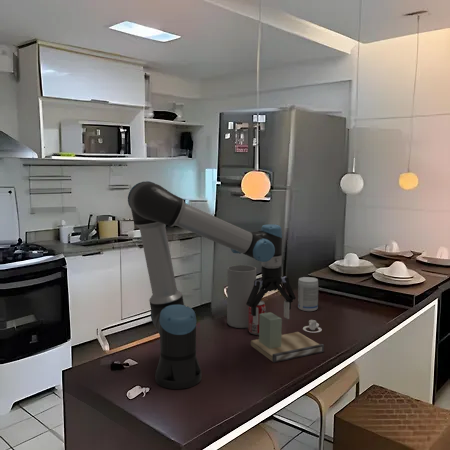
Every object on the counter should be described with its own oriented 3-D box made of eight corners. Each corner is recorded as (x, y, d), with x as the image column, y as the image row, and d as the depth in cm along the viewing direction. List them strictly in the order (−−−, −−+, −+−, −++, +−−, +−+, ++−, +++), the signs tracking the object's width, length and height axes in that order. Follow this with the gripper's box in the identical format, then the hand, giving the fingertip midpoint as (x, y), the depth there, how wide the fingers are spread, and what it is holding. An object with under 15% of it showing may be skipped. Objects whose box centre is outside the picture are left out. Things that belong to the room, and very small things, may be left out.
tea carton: (281, 346, 177) (282, 318, 175) (269, 348, 175) (270, 320, 173) (270, 339, 184) (270, 312, 182) (259, 341, 182) (259, 314, 180)
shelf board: (274, 362, 167) (274, 355, 167) (250, 345, 183) (250, 338, 182) (324, 352, 177) (324, 344, 177) (297, 336, 192) (298, 329, 192)
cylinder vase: (261, 323, 207) (262, 268, 204) (243, 331, 198) (244, 273, 194) (239, 317, 215) (239, 263, 212) (221, 324, 206) (221, 268, 202)
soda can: (264, 336, 192) (265, 305, 190) (247, 334, 194) (247, 304, 192) (266, 330, 199) (267, 300, 197) (249, 328, 201) (250, 299, 199)
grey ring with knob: (313, 325, 206) (314, 316, 206) (327, 330, 200) (327, 321, 199) (298, 329, 202) (299, 320, 201) (311, 335, 195) (312, 325, 195)
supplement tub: (321, 308, 228) (322, 279, 226) (310, 313, 221) (311, 282, 219) (305, 304, 235) (306, 275, 233) (293, 308, 228) (294, 279, 226)
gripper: (246, 272, 166) (247, 329, 169) (305, 264, 177) (304, 318, 180) (237, 267, 173) (237, 323, 176) (293, 260, 184) (293, 312, 187)
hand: (271, 320), depth 178 cm, fingers open, 13 cm apart
